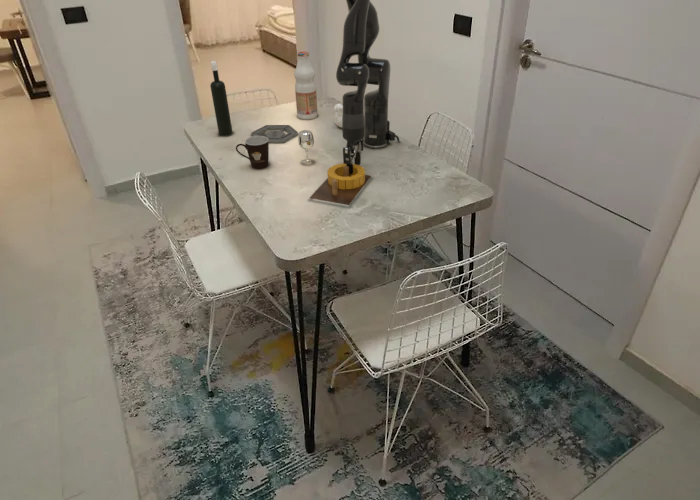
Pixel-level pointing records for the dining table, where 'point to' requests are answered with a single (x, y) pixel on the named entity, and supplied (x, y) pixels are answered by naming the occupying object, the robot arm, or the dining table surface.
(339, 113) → the bust
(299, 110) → the white milk bottle
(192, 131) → the dining table surface
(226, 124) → the wine bottle
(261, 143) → the coffee mug
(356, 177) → the yellow segmented ring
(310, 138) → the wineglass
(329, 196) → the rack
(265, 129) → the grey hexagonal frame
